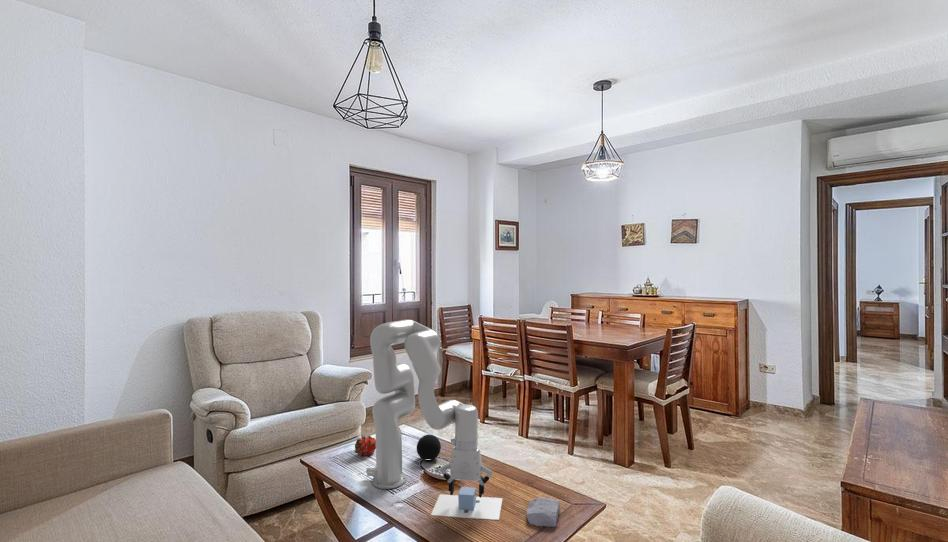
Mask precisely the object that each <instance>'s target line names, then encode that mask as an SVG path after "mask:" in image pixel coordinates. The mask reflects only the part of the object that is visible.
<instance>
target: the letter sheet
mask: <svg viewBox="0 0 948 542" xmlns="http://www.w3.org/2000/svg"><path fill="white" fill-rule="evenodd" d="M502 504H503V497H491V496H490V497H489V496H481V498H480V497H479V496H476V504H475V508H474V511H472V510H459V502H458V494H455V495H454V494H453V495H450V494H442V493H441V494H439V495H438V497H437V499H436V502H435V504H434V507H433V509H432V511H431V513H430V516H431V517H432V516H433V517H434V516H435V517H449V518H461V519H477V520H491V521H492V520H493V521H500V517H501V510H502Z"/></svg>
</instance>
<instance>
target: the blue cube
mask: <svg viewBox="0 0 948 542" xmlns="http://www.w3.org/2000/svg"><path fill="white" fill-rule="evenodd" d="M457 495H458V502H459V510H472V511H474V508H475V504H476V497H477V488H476V487H471V486H470V487H467V486H461V487H460V489H459V492H458V494H457Z"/></svg>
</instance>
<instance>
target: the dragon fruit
mask: <svg viewBox="0 0 948 542" xmlns="http://www.w3.org/2000/svg"><path fill="white" fill-rule="evenodd" d="M354 449H355V450H354V453H356V454H357V456H360V457H362V458H363V457H365V456H372V454H374V453H375V451H376V437H372V436H371V435H367V437H366V436H365V435H364V436H362V437H361V438H358V439H357V440H356V441H355V444H354Z"/></svg>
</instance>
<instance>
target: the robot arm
mask: <svg viewBox="0 0 948 542" xmlns="http://www.w3.org/2000/svg"><path fill="white" fill-rule="evenodd" d="M399 344H403V345H404V346H403V347H404V349H405V352H406V354H407V357H408V359H409V361H410V363H411V365H412V367H413V370H414V372H415V373H416V376H417V378H418V386H417V387H418V388H417V402H418V406H419V409H420V411H421V413H422V416H423V418H424V420H425V422H426V423H427V425H428V426H429V427H430V428H431V429H432V430H436V431H440V430H442V429H445V428H446V427H448V426H450V425H453V424H454V438H451V439H450V444H453V447H452V448H451V455H450V462H449V463H447V464H445V465H443V466H441V467H440V472H441V474H442V476H443V478H444V479H445V480H446V481H447V483H448V492H450V493H449V495H454V492H455V480H456V481H468V482H478V483H479V485H478V497H480V498H481V497H483V496H482V495H484V494H485V484H486V483H487V482H488V481H489V480H490V478H491V476H492V475H493V470H492V469H490V468H489V467H486V466H485V465H484V464H482V463H483V462H482V454H481V449H480V446H479V445H478V444H479V443H478V442H479V441H478V439H479V438H478V437H479V435H478V431H479V430H478V429H479V424H478V421H479V420H478V419H479V417H478V416H479V414H478V409H477V407H476V405H472V404H465V403H462V402H461V401H459V400H456V399H448V400H446V401H444V402H442V403H439V404H438V401H437V399H436V395H435V384H436V381H437V379H438V377H439V376H440V375H441V372H442V367H441V364H440V363H439V362H438V358H437V356H436V354H435V352H436V351H438V350H439V349H440V347H441V339H440V336H439V334H437V332H436V331H434V330H433V329H431V328H430V327H428V326H426V325H423V324H421V323H419V322H418V321H415V320H414V319H401V320H397V321H396V320H395V321H394V320H393V321H389V322H385V323H384V322H383V323H382V324H379V325H377V326H376V327H374V329H373V330H372V332H371V333H370V339H369V346H370V350H371V354H372V361H373V362H372V364H373V365H372V366H373V377H374V378H373V379H374V381H373V382H374V386H375V390H376V391H377V393H379V394H380V395H381V394H383V395H385V394H389V395H386V396H384V397H381V398H380V399H378V400H377V401H376V402H375V403H374V404H373V407H372V411H371V412H372V418H373V422H374V429H375V431H374V432H375V440H376V449H375V462H376V465H375V466H376V467H375V468H373V467H367V468H366V470H365V472H366V476H367V477H373V478H372V481H371V484H372V486H373V487H374V488H375V487H376V488H378V489H382V490H389V489H395V488H399V487H401V486H402V485H404V484H405V483H406V482H407V481H408V480H407V479H408V478H407V477H408V476H407V474H406V473H405V472H403V446H402V445H403V442H402V441H403V439H402V436H403V435H402V430H401V427H400V426H399V423H398V420H399V421H400V419H402V418H404V417H407V416H409V415H410V414H412V413H413V411H414V409H415V407H416V394H415V380H414V373H413V371H412V369H411V367H410V366H409V365H408V364H406V363H404V362H403V363H401V362H399V363H397V354H396V352H395V350H394V349H393V347H392V346H395V345H399ZM393 392H394V393H393ZM390 393H392V394H390ZM448 470H450V471H449V473H450V474H449V473H448V472H447V471H448ZM483 472H484V473H485V474H486V475H485V476H483V475H482V473H483Z"/></svg>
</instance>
